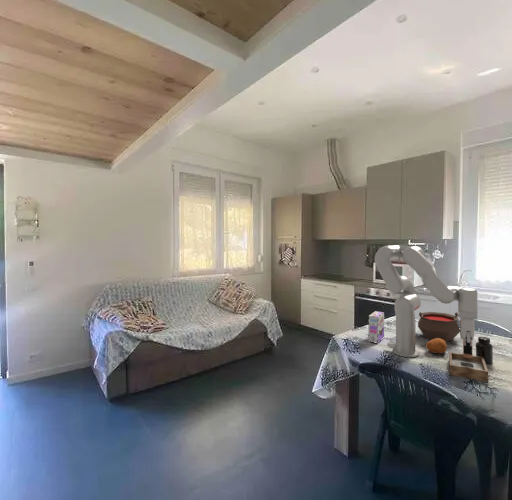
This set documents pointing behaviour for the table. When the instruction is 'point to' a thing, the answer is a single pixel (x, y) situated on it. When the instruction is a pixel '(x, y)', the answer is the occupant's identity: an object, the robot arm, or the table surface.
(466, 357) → the peg
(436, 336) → the brown cooking pot
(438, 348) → the potato
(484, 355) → the supplement bottle
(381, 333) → the candy box
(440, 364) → the table surface
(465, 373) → the wooden rectangular frame
